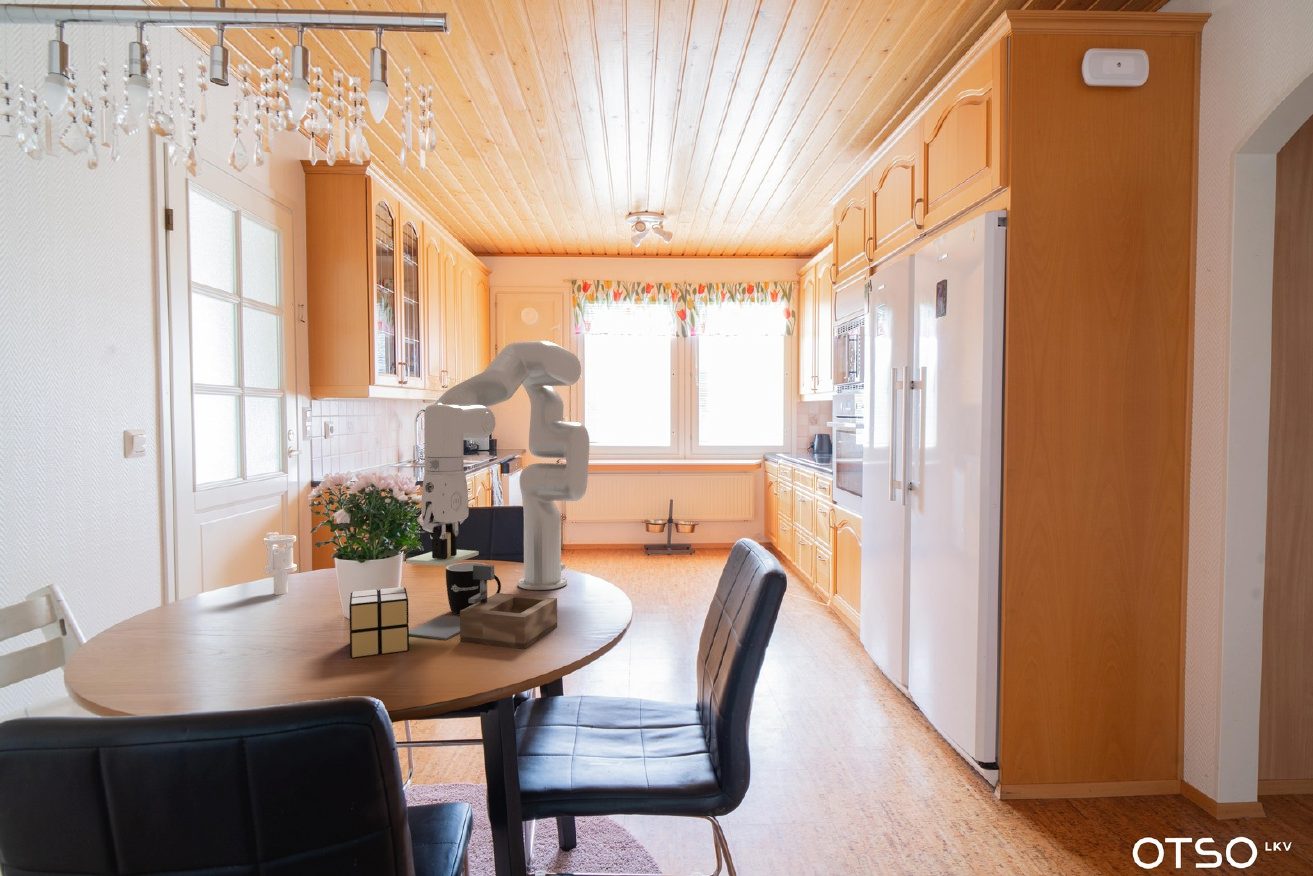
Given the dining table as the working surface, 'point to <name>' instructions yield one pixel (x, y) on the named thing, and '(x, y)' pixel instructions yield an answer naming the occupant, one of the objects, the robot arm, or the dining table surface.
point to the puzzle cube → (378, 622)
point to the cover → (428, 560)
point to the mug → (463, 585)
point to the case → (508, 620)
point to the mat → (438, 628)
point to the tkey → (482, 581)
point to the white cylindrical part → (280, 560)
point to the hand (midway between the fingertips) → (444, 556)
